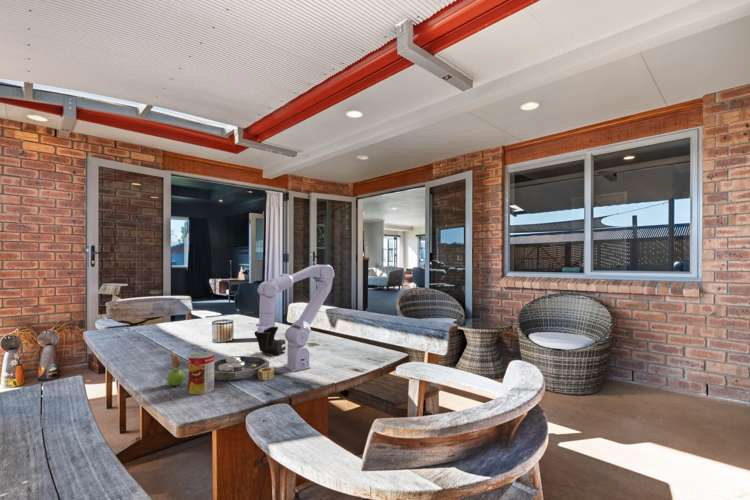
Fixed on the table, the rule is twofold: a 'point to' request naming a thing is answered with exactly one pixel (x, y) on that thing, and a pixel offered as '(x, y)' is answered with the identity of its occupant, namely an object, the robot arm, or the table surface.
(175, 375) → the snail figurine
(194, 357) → the canned food
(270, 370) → the gold octagonal ring
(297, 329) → the robot arm
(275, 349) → the end cap
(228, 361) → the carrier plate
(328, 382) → the table surface
